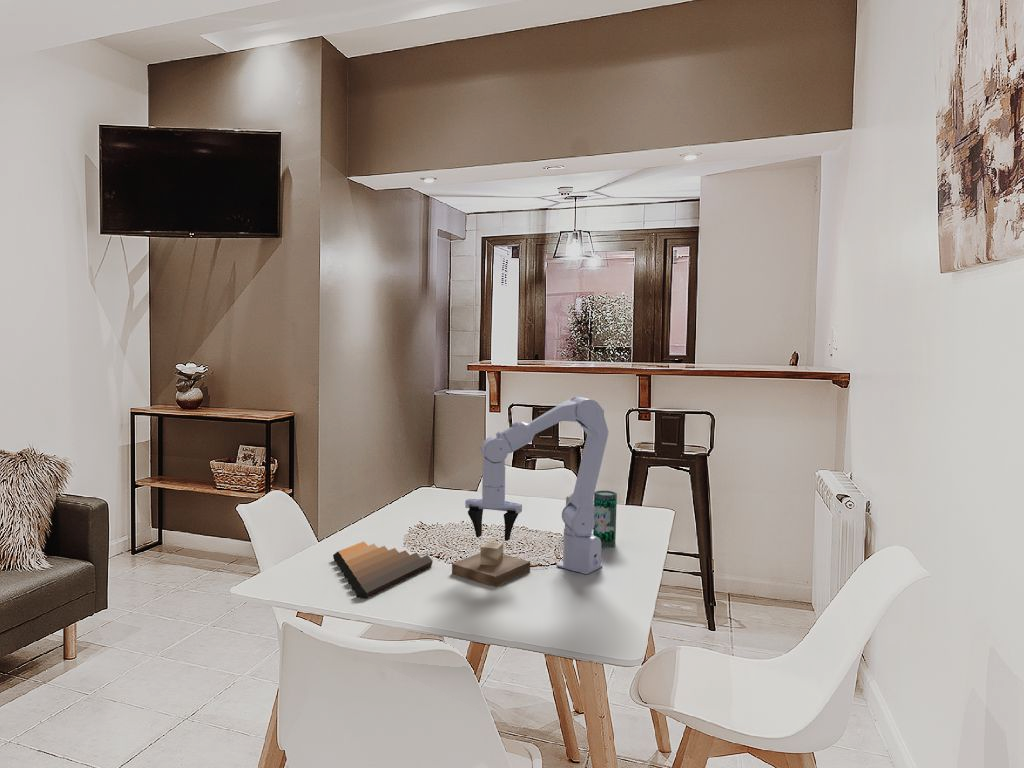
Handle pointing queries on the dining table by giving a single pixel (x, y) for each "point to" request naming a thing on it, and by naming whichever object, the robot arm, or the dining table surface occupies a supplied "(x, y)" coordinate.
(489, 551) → the maple block
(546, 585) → the dining table surface
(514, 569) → the walnut base
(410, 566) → the pan flute
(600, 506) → the can
